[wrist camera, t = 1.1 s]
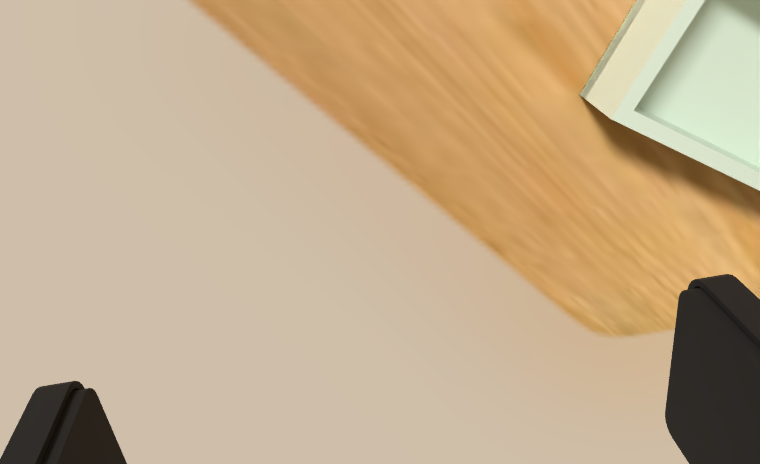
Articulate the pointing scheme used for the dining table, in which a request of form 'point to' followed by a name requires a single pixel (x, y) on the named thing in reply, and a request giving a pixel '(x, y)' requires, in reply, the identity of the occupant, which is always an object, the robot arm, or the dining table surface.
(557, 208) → the dining table surface
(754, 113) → the bin
